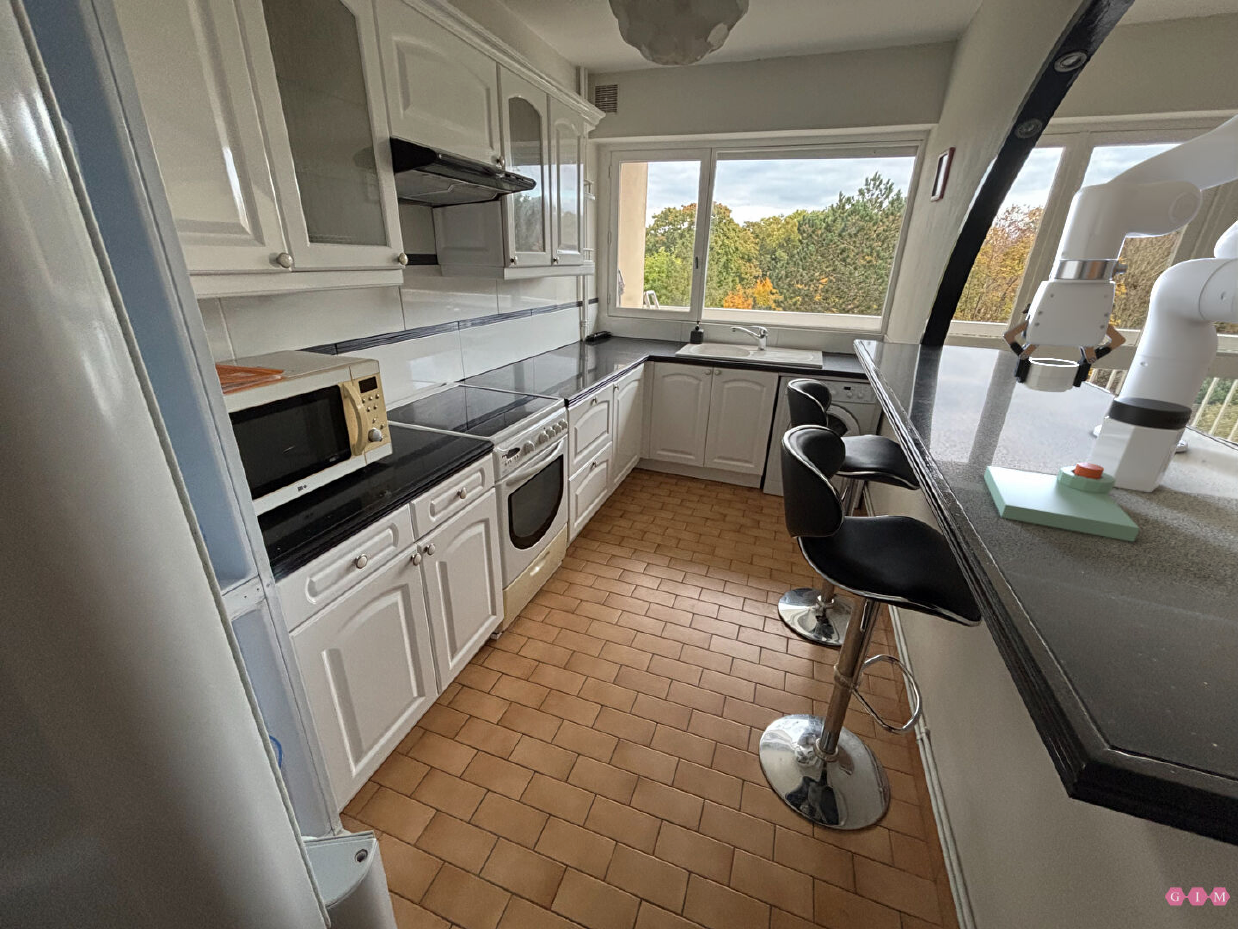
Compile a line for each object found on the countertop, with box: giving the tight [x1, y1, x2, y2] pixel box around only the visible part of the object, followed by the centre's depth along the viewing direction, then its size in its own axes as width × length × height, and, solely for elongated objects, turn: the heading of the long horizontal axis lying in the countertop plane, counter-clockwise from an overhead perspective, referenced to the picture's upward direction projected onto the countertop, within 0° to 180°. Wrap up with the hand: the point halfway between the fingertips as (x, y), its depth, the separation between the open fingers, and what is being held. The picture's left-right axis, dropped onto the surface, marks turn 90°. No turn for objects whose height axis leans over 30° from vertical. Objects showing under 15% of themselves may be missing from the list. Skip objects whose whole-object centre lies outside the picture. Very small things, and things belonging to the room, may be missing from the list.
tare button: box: [1074, 462, 1104, 479], centre depth 70 cm, size 3×3×2 cm
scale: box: [983, 465, 1141, 543], centre depth 68 cm, size 16×14×4 cm
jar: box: [1086, 397, 1193, 493], centre depth 75 cm, size 9×8×12 cm
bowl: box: [1021, 358, 1080, 393], centre depth 86 cm, size 7×7×4 cm
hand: (1046, 382), depth 86 cm, fingers closed on bowl, 6 cm apart
